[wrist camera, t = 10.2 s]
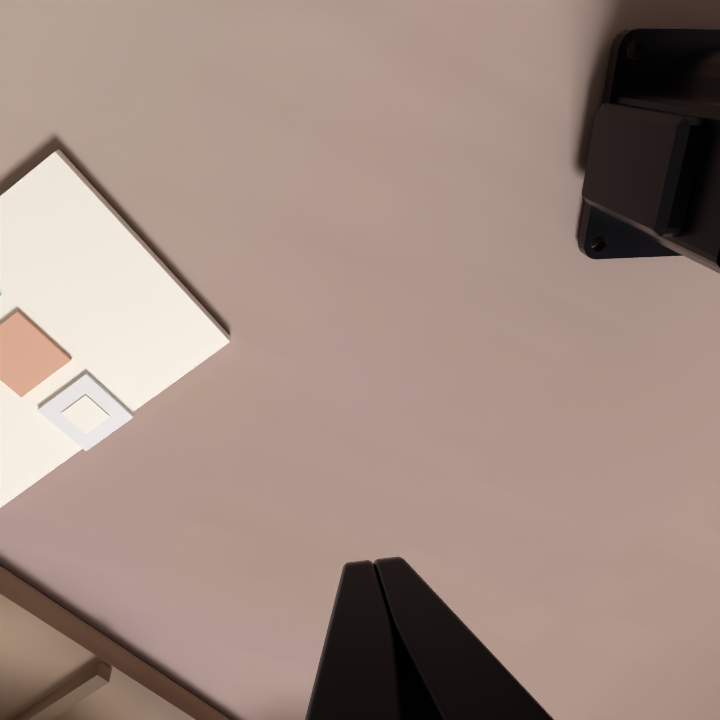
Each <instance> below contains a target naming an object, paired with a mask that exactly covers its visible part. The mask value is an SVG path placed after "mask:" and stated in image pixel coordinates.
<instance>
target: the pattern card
mask: <svg viewBox="0 0 720 720" xmlns="http://www.w3.org/2000/svg"><path fill="white" fill-rule="evenodd" d="M229 342H230V335H229V334H228V333H227V332H226V331H225V330H224V329H223V328H222V327H221V326H220V324H219V323H218V322H217V321H216V320H215V319H214V318H213V317H212V316H211V315H210V313H209V312H208V311H207V310H206V309H205V308H204V307H203V306H202V305H201V304H200V303H199V301H198V300H197V299H196V298H195V297H194V296H193V295H192V294H191V293H190V292H189V291H188V289H187V288H186V287H185V286H184V285H183V284H182V283H181V282H180V281H179V280H178V279H177V277H176V276H175V275H174V274H173V273H172V272H171V271H170V270H169V269H168V268H167V267H166V265H165V264H164V263H163V262H162V261H161V260H160V259H159V258H158V257H157V256H156V255H155V253H154V252H153V251H152V250H151V249H150V248H149V247H148V246H147V245H146V244H145V242H144V241H143V240H142V239H141V238H140V237H139V236H138V235H137V234H136V233H135V232H134V230H133V229H132V228H131V227H130V226H129V225H128V224H127V223H126V222H125V221H124V220H123V218H122V217H121V216H120V215H119V214H118V213H117V212H116V211H115V210H114V209H113V208H112V206H111V205H110V204H109V203H108V202H107V201H106V200H105V199H104V198H103V197H102V196H101V194H100V193H99V192H98V191H97V190H96V189H95V188H94V187H93V186H92V185H91V184H90V182H89V181H88V180H87V179H86V178H85V177H84V176H83V175H82V174H81V173H80V171H79V170H78V169H77V168H76V167H75V166H74V165H73V164H72V163H71V162H70V161H69V159H68V158H67V157H66V156H65V155H64V154H63V153H62V152H61V151H60V150H59V149H58V150H56V151H55V152H54V153H52V154H51V155H50V156H49V157H47V158H46V159H45V160H44V161H43V162H41V163H40V164H39V165H38V166H36V167H35V168H34V169H33V170H32V171H30V172H29V173H28V174H27V175H25V176H24V177H23V178H22V179H21V180H19V181H18V182H17V183H16V184H14V185H13V186H12V187H11V188H10V189H8V190H7V191H6V192H5V193H3V194H2V195H1V196H0V508H1V507H2V506H3V505H5V504H6V503H7V502H9V501H10V500H12V499H13V498H14V497H16V496H17V495H19V494H20V493H21V492H23V491H24V490H25V489H27V488H28V487H30V486H31V485H32V484H34V483H35V482H37V481H38V480H39V479H41V478H42V477H44V476H45V475H46V474H48V473H49V472H50V471H52V470H53V469H55V468H56V467H57V466H59V465H60V464H62V463H63V462H64V461H66V460H67V459H68V458H70V457H71V456H73V455H74V454H75V453H77V452H78V451H80V450H81V449H82V448H83V449H84V450H85V451H87V450H89V449H90V448H91V447H93V446H94V445H96V444H97V443H98V442H100V441H101V440H102V439H104V438H105V437H107V436H108V435H109V434H111V433H112V432H114V431H115V430H116V429H118V428H119V427H121V426H122V425H123V424H125V423H126V422H127V421H129V420H130V419H132V418H133V417H134V413H133V412H134V411H135V410H136V409H138V408H139V407H141V406H142V405H143V404H145V403H146V402H147V401H149V400H150V399H152V398H153V397H154V396H156V395H157V394H159V393H160V392H161V391H163V390H164V389H165V388H167V387H168V386H170V385H171V384H172V383H174V382H175V381H177V380H178V379H179V378H181V377H182V376H183V375H185V374H186V373H188V372H189V371H190V370H192V369H193V368H195V367H196V366H197V365H199V364H200V363H201V362H203V361H204V360H206V359H207V358H208V357H210V356H211V355H213V354H214V353H215V352H217V351H218V350H219V349H221V348H222V347H224V346H225V345H226V344H228V343H229Z"/></svg>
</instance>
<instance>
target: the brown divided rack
mask: <svg viewBox="0 0 720 720" xmlns="http://www.w3.org/2000/svg"><path fill="white" fill-rule="evenodd" d="M0 720H230V719H229V718H227V717H226V716H224V715H223V714H221V713H220V712H218V711H217V710H215V709H214V708H212V707H211V706H209V705H208V704H206V703H205V702H203V701H202V700H200V699H199V698H197V697H196V696H194V695H193V694H191V693H190V692H188V691H187V690H185V689H184V688H182V687H181V686H179V685H178V684H176V683H175V682H173V681H172V680H170V679H169V678H167V677H166V676H164V675H163V674H161V673H160V672H158V671H157V670H155V669H154V668H152V667H151V666H149V665H148V664H146V663H145V662H143V661H142V660H140V659H139V658H137V657H136V656H134V655H133V654H131V653H130V652H128V651H127V650H125V649H124V648H122V647H121V646H119V645H118V644H116V643H115V642H113V641H112V640H110V639H109V638H107V637H106V636H104V635H103V634H102V633H100V632H99V631H97V630H96V629H94V628H93V627H91V626H90V625H88V624H87V623H85V622H84V621H82V620H81V619H79V618H78V617H76V616H75V615H73V614H72V613H70V612H69V611H67V610H66V609H64V608H63V607H61V606H60V605H58V604H57V603H55V602H54V601H52V600H51V599H49V598H48V597H46V596H45V595H43V594H42V593H40V592H39V591H37V590H36V589H34V588H33V587H31V586H30V585H28V584H27V583H25V582H24V581H22V580H21V579H19V578H18V577H16V576H15V575H13V574H12V573H10V572H9V571H7V570H6V569H4V568H3V567H1V566H0Z"/></svg>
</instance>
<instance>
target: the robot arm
mask: <svg viewBox="0 0 720 720" xmlns="http://www.w3.org/2000/svg"><path fill="white" fill-rule="evenodd" d="M632 40H634V42H635V43H636V50H635V53H634V55H633V56H632V57H631V58H629V57H628V56H627V47H628V44H629V43H630V42H631V41H632ZM582 197H583V198H584V199H585V204H584V210H583V216H582V222H581V228H580V234H579V240H578V247H579V249H580V251H581V252H582V253H584V254H585V255H587V256H588V257H590V258H592V259H612V258H635V257H659V256H685V257H687V258H689V259H691V260H693V261H695V262H697V263H699V264H701V265H703V266H705V267H708V268H710V269H712V270H714V271H716V272H718V273H720V30H700V29H628V30H624V31H623V32H621V33H620V34H618V36H617V37H616V38H615V40H614V41H613V44H612V47H611V52H610V57H609V63H608V69H607V75H606V81H605V87H604V93H603V99H602V104H601V106H600V108H599V109H598V110H597V111H596V113H595V118H594V124H593V130H592V136H591V142H590V148H589V154H588V160H587V166H586V172H585V178H584V184H583V190H582ZM598 236H600V242H599V244H598V245H597V246H596V247H594V248H592V246H591V244H592V241H593V240H594V239H595V238H596V237H598ZM305 720H554V719H553V718H552V717H551V716H550V715H549V714H548V713H547V712H546V711H545V709H544V708H543V707H542V706H541V705H540V704H539V703H538V702H537V701H536V700H535V699H534V698H533V697H532V696H531V694H530V693H529V692H528V691H527V690H526V689H525V688H524V687H523V686H522V685H521V684H520V683H519V682H518V681H517V680H516V678H515V677H514V676H513V675H512V674H511V673H510V672H509V671H508V670H507V669H506V668H505V667H504V666H503V665H502V664H501V662H500V661H499V660H498V659H497V658H496V657H495V656H494V655H493V654H492V653H491V652H490V651H489V650H488V649H487V647H486V646H485V645H484V644H483V643H482V642H481V641H480V640H479V639H478V638H477V637H476V636H475V635H474V634H473V633H472V631H471V630H470V629H469V628H468V627H467V626H466V625H465V624H464V623H463V622H462V621H461V620H460V619H459V618H458V616H457V615H456V614H455V613H454V612H453V611H452V610H451V609H450V608H449V607H448V606H447V605H446V604H445V603H444V602H443V600H442V599H441V598H440V597H439V596H438V595H437V594H436V593H435V592H434V591H433V590H432V589H431V588H430V587H429V585H428V584H427V583H426V582H425V581H424V580H423V579H422V578H421V577H420V576H419V575H418V574H417V573H416V572H415V571H414V569H413V568H412V567H411V566H410V565H409V564H408V563H407V562H406V561H405V560H404V559H403V558H401V557H392V558H383V559H377V560H376V561H374V563H372V562H371V561H369V560H366V561H357V562H349V563H346V564H345V565H344V567H343V570H342V574H341V578H340V582H339V586H338V590H337V594H336V598H335V602H334V606H333V610H332V614H331V618H330V622H329V626H328V630H327V634H326V638H325V642H324V646H323V650H322V654H321V658H320V662H319V666H318V670H317V674H316V678H315V682H314V686H313V690H312V694H311V698H310V702H309V706H308V710H307V714H306V718H305Z"/></svg>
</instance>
